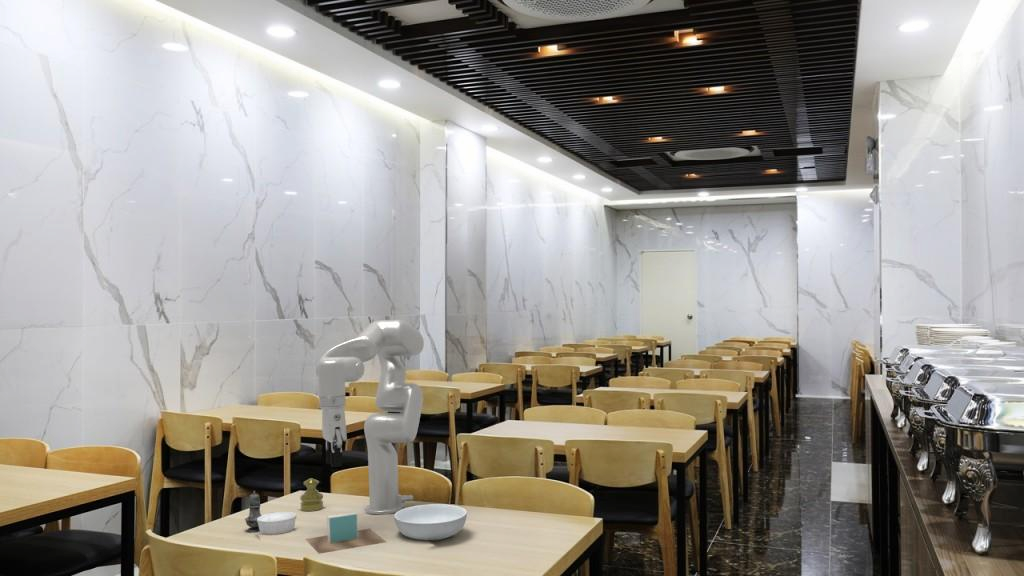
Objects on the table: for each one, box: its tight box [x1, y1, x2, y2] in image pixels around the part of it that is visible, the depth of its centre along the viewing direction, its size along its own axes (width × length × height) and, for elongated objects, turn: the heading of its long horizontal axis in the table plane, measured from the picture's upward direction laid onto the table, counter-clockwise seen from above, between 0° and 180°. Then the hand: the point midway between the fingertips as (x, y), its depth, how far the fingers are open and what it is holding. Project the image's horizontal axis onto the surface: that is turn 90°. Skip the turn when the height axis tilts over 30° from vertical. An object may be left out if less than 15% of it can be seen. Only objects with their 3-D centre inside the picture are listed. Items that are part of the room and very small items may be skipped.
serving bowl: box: [393, 503, 468, 542], centre depth 234 cm, size 21×21×7 cm
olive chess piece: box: [299, 477, 324, 512], centre depth 271 cm, size 7×7×10 cm
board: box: [305, 528, 388, 555], centre depth 229 cm, size 19×16×1 cm
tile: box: [326, 511, 358, 543], centre depth 229 cm, size 8×2×7 cm, turn 117°
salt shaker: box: [244, 490, 263, 533], centre depth 247 cm, size 6×6×12 cm
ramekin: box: [257, 511, 297, 535], centre depth 242 cm, size 11×11×5 cm
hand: (334, 464), depth 236 cm, fingers open, 4 cm apart
